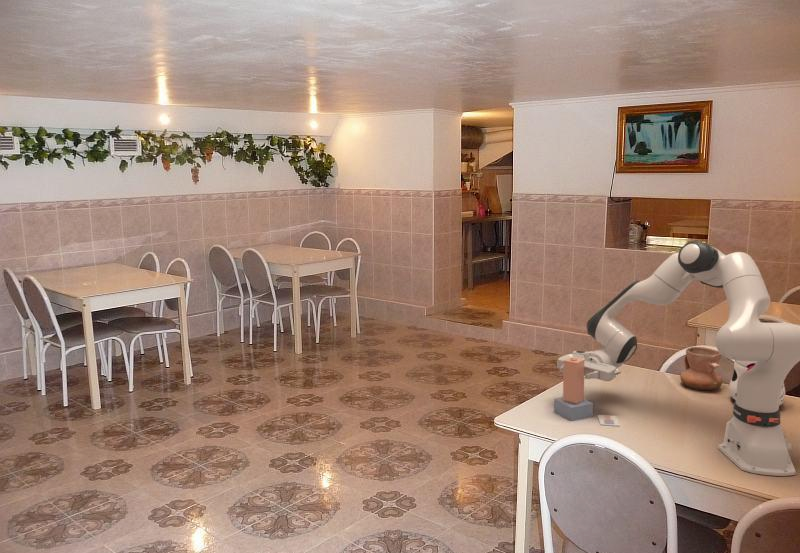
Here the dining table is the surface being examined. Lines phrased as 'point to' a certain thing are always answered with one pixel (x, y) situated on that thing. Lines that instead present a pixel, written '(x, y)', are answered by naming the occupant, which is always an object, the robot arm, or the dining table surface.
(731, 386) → the milk container
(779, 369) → the robot arm
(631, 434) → the dining table surface
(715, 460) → the dining table surface
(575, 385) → the coral brick
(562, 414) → the base brick
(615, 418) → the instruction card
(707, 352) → the ceramic jug
